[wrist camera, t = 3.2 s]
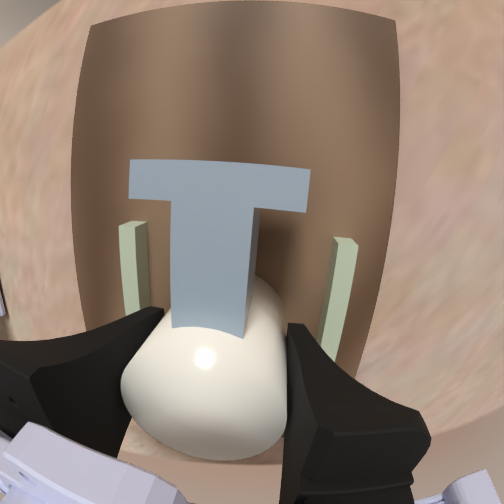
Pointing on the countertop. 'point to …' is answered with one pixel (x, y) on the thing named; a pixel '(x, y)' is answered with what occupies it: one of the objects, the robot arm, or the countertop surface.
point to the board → (242, 142)
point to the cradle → (334, 298)
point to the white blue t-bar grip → (214, 311)
